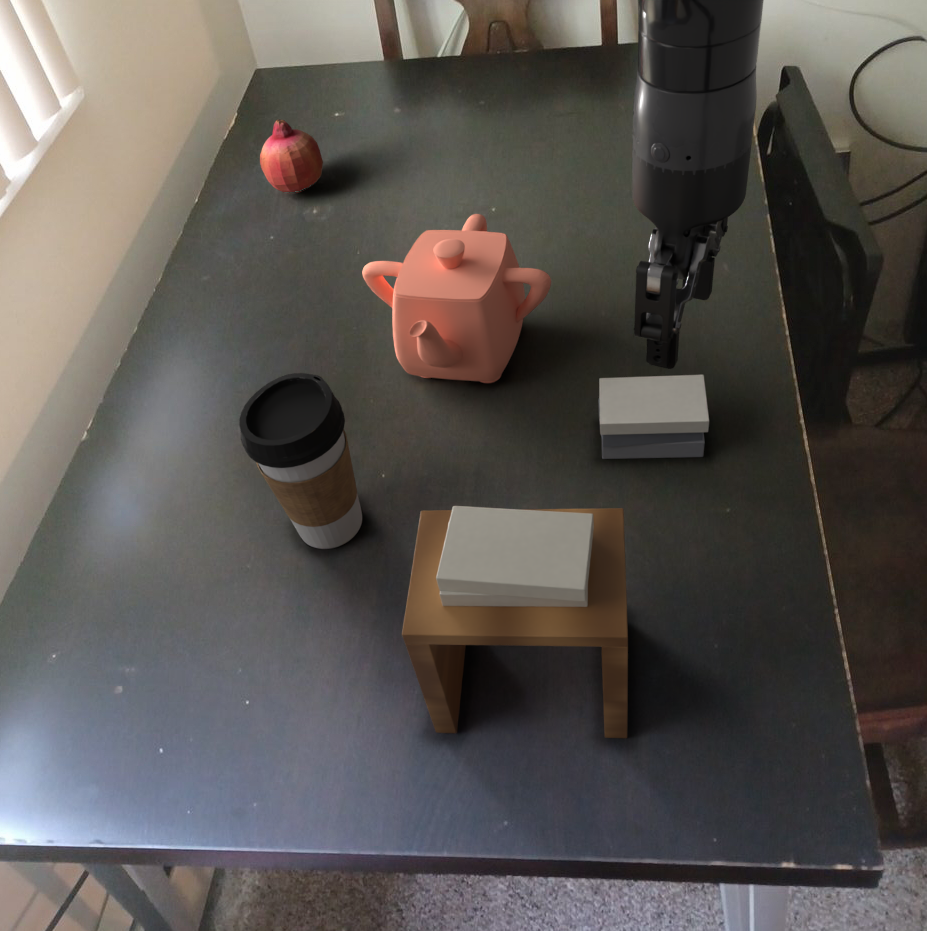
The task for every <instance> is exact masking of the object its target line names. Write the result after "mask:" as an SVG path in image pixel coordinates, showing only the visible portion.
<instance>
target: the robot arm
mask: <svg viewBox="0 0 927 931" xmlns="http://www.w3.org/2000/svg"><path fill="white" fill-rule="evenodd" d="M763 9H764V0H637V71H636V80H635V81H636V82H635V87H634V93H633V94H634V95H633V101H632V102H633V103H632V149H631V150H632V154H631V155H632V156H631V157H632V158H631V164H632V165H631V171H632V172H631V197H632V201H633V205H634V207H635V208H636V209H637V210H638V212H639V213H640V214H641V215H643V216H644V217H645V218H646V219H648V220H649V221H650V222H651V223H652V224H653V225H654V227H653V229H652V231H651V234H650V237H649V238H650V239H649V243H648V252H649V254H650V255H649V260H648V261H646V260H640V261H639V263H638V264H637V266H636V269H635V299H634V323H633V324H634V325H633V335H634V337H637V338H642V339H646V349H645V350H646V352H645V354H646V355H645V360H646V363H647V364H648V365H650V366H652V367H658V368H661V369H666V370H673V369H674V368H675V367H676V365H677V363H678V360H679V346H680V330H681V327H682V319H683V314H684V311H685V305H686V304H687V303H688V302H690V301H692V300H693V299H694V300H695V299H696V300H700V301H707V300H709V298H710V296H711V294H712V292H713V285H714V284H713V283H714V281H713V280H714V272H715V261H716V258H717V256H718V254H719V253H720V251H721V242H722V239H723V237H725V236H726V233H728V229H729V225H728V221H729V217H730V216H732V215H733V214H735V213H736V212H737V211H738V210H739V208H741V206H742V205H743V203H744V201H745V199H746V195H747V187H748V178H749V170H750V161H751V153H752V144H753V136H754V127H755V119H756V111H757V98H758V97H757V95H758V94H757V92H758V91H757V64H758V55H759V47H760V37H761V29H762V20H763V11H764V10H763ZM679 280H682V286H681V288H679V287H677V286H678V285H679Z"/></svg>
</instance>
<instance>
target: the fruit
mask: <svg viewBox="0 0 927 931" xmlns="http://www.w3.org/2000/svg"><path fill="white" fill-rule="evenodd" d="M271 133H272V135H270V136H269V137H268V138H267V139H266V140H265V142H264V144H263V146H262V148H261V150H260V154H259V164H260V169H261V170H262V172H263V174H264V176H265V178H266V181H267V182H268V183H269V184H270V185H271V186H272V187H273V188H274V189H276V190H277V191H279V192H281V193H284V192H295V191H300V190H302V189H304V188H307V187H308V188H310V187H311V186H310V185H312V184H313V185H315V184H316V183H317V182H318V180H319V179H320V178H321V176H322V172H323V165H324V160H323V157H322V152H321V150H320V147H319V144H318V142H317V141H316V140H315V139H314V137H313V136H312V135H310V134H309V133H308V132H305V131H303V130H300V129H297V128H294V129H293V128H292V126H291V125H290V124H289V123H288V122H287V121H286V120H284V119H276V120H275V122H274V124H273V128H272V132H271ZM315 182H316V183H315ZM314 183H315V184H314ZM313 185H312V186H313ZM309 186H310V187H309ZM308 188H307V189H308ZM301 192H302V191H300V192H296V193H295V194H298V193H301Z"/></svg>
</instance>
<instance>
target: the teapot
mask: <svg viewBox="0 0 927 931" xmlns="http://www.w3.org/2000/svg"><path fill="white" fill-rule="evenodd" d="M487 222H488V221H487V219H486V216H484V215H483V214H481V213H473V214H471V215H470V216H469V217H467V219H466V221H465V222H464V225H463V227H462V229H426V230H425V231H423V232H422V233H421V234H419V236H418V238H417V239H416V240H415V242H413V244H412V246H411V248H410V250H409V251H408V252H407V254H406V256H405V258H404V260H403V262H400V261H399V262H398V261H391V260H376V261H371V262H368V263H367V264H366V265H364V267H363V269H362V271H361V272H362V279H363V280H364V282H365V283H366V285H367V286H368V288H369V289H370V290H371V291H372V292H373V293H374V294H375V295H376V296H377V297H378V298H379V299H381V300H382V301H383V302H384V303H385V304H387V306H389V307H390V308H391V309H392V316H391V317H392V319H391V320H392V337H393V338H392V339H393V346H394V352H395V356H396V359H397V361H398V363H399V364H400V366H401V367H402V369H403V370H404V371H405V372H406V373H407V375H412V376H416V377H421V378H422V379H423V378H424V379H431V378H432V379H442V380H453V381H467V382H469V381H471V382H480V383H483V384H493V383H495V382H497V381H498V380H499V379H500V378H501V377H502V374H503V372H504V370H506V367H507V365H508V363H509V361H510V359H511V357H512V356H513V353H514V351H515V349H516V346H517V344H518V341H519V339H520V338H519V337H520V336H521V331H522V327H523V322H524V318H526V316H529V314H530V313H532V312H533V311H534V310H535V309H536V308H537V307H538V306H539V305H540V304H541V303H542V302H543V301H544V300H545V299H546V297H547V295H548V294H549V292H550V289H551V286H552V279H551V276H550V275H549V274H548V273H547V272H546V271H544V270H543V269H539V268H533V267H520V265H519V262H518V258H517V256H516V253H515V251H514V248H513V246H512V243H511V241H510V239H509V236H508V234H506V233H504V232H497V231H495V232H494V231H488V223H487ZM385 276H386V277H387V276H388V277H396V279H395V283H394V285H393V287H392V286H391V285H390V283H389V282H388V281H387V279H385ZM524 284H526V285H529V287H530V289H529V292H528V294H527V295H526V291H525V286H524Z"/></svg>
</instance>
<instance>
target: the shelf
mask: <svg viewBox="0 0 927 931" xmlns="http://www.w3.org/2000/svg"><path fill="white" fill-rule="evenodd" d="M518 510H536V511H553V512H571V513H588V514H593V519H594V530H593V539H592V549H591V558H590V568H589V577H588V606H587V607H522V606H443V605H442V601H441V598H440V590H439V587H438V583H437V579H436V576H437V572H438V568H439V564H440V559H441V555H442V551H443V547H444V542H445V538H446V534H447V530H448V523H449V521H450V517H451V513H452V509H450V510H448V509H446V510H445V509H444V510H442V509H440V510H439V509H438V510H437V509H436V510H421V511H420V512H419V513H420V514H419V520H418V527H417V533H416V540H415V546H414V552H413V558H412V559H413V560H412V565H411V573H410V578H409V585H408V592H407V597H406V598H407V599H406V604H405V605H406V606H405V612H404V617H403V624H402V631H401V637H402V639H403V642H404V645H405V647H406V651H407V653H408V656H409V660H410V663H411V665H412V668H413V671H414V674H415V676H416V679H417V682H418V685H419V688H420V690H421V694H422V696H423V699H424V703H425V705H426V708H427V711H428V714H429V717H430V720H431V722H432V725H433V728H434V731H435V733H437V734H458V725H459V716H460V706H461V697H462V696H461V695H462V686H463V676H464V666H465V656H466V647H467V646H513V647H515V646H520V647H521V646H524V647H526V646H528V647H530V646H531V647H533V646H534V647H597V648H598V647H599V648H600V647H601V668H602V696H603V698H602V699H603V724H604V725H603V726H604V727H603V728H604V738H606V739H628V710H629V709H628V706H629V704H628V702H629V701H628V696H629V694H628V693H629V692H628V690H629V689H628V688H629V687H628V686H629V681H628V680H629V660H628V659H629V653H628V652H629V627H628V626H629V625H628V601H627V600H628V598H627V594H628V593H627V568H626V567H627V566H626V539H625V538H626V537H625V536H626V535H625V509H624V508H622V507H619V508H618V507H613V508H611V507H609V508H608V507H606V508H604V507H603V508H533V509H532V508H531V509H530V508H529V509H528V508H527V509H522V508H521V509H520V508H519V509H518Z"/></svg>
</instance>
